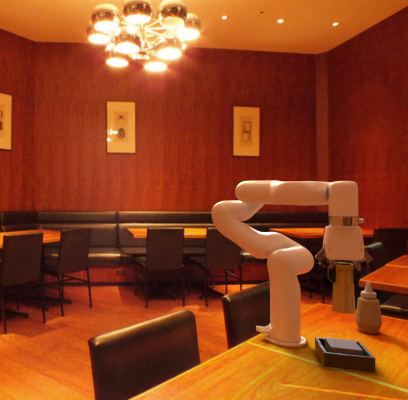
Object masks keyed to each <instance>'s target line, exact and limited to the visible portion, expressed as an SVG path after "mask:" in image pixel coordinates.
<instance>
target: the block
mask: <svg viewBox="0 0 408 400" xmlns="http://www.w3.org/2000/svg"><path fill="white" fill-rule="evenodd" d="M324 338H325V350H326V352H330V353H340V354H350V355H359V356H363V350H362V349H361V348H360V346H359V345H358V344H357V343H356V342H355V341H356V340H355V339H347V338H346V339H345V338H335V337H334V338H333V337H324Z"/></svg>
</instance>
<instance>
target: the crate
mask: <svg viewBox="0 0 408 400" xmlns="http://www.w3.org/2000/svg"><path fill="white" fill-rule="evenodd" d="M325 338H326V337H314V351H315V353H316V355H317V356H318V358H319V360H320V362H321V363H322V365H323V367H324V368H332V369H340V370H348V371H349V370H350V371H357V372H358V371H359V372H365V373H374V374H376V357H375V356H374V355H373V353H372V352H371V351H369V349H368V347H366V346H365V345H364V344H363V343H362V341H358V340H354V341H355V342H356V343H357V344H358V345H359V346H360V348H361V349H362V350H363V356H359V355H350V354H340V353H330V352H326V350H325Z"/></svg>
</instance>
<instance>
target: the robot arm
mask: <svg viewBox="0 0 408 400" xmlns="http://www.w3.org/2000/svg"><path fill="white" fill-rule="evenodd" d="M234 194H235V197H236V198H237V200H222V201H219V202H217V203H216V204H214V205H213V206H212V209H211V220H212V224H213V225H214V228H215V229H216V230H217V231H218V232H219V233H220V234H221V235H223V236H224V237H225V238H227V239H228V240H229V241H231V242H233V243H234V244H236V245H237V246H238V247H239V248H240V249H243V250H244V251H246V252H247V253H248V254H249V255H250V256H252V257H254V258H255V259H259V260H264V259H267V260H266V268H267V273H268V279H269V305H270V306H269V312H270V313H269V314H270V315H269V321H270V323H268V325H265V326H262V325H255V331H256V332H258V333H260V334H263V335H264V334H265V339H266V341H268V342H270V343H272V344H275V345H278V346H280V347H281V346H282V347H286V348H287V347H288V348H298V347H303V346H305V345H306V344H307V339H306V338H305V337H304V336H302V302H301V301H302V295H301V293H302V292H301V284H300V282H299V279H298V276H299V275H303V274H306V273H309V272H310V271H311V270H312V269H313V267H314V265H315V259H317V260H318V261H319V262H320V263H322V264H323V265H324V266H325V267H326V269H327V279H328V280H329V282H331V284H333V283H334V282H335V270H334V263H336V261H350V262H351V264H353V265H354V285H358V284H359V281H360V280H361V271H362V269H363V268H364V267H365V266H367V265H368V264H369V263H370V262H372V261H373V260H374V258H373V257H372V256H371V255H370V253H369V252H368V251H366V250H365V244H364V243H365V242H364V236H363V232H362V227H361V226H359V225H360V224H364V223H365V220H364V218H360V216H359V187H358V183H357V182H356V181H352V180H338V181H336V180H335V181H332V182H330V181H329V182H328V181H317V180H316V181H315V180H314V181H313V180H306V181H304V180H303V181H301V180H299V181H294V180H293V181H280V180H278V179H275V180H273V179H272V180H271V179H269V180H244V181H241V182H240V183H238V185H236V186H235V189H234ZM265 205H273V206H275V205H276V206H277V205H278V206H279V205H285V206H287V205H289V206H326V205H327V206H328V225H326V226H325V227H324V231H323V238H322V239H323V241H322V248H321V249H320V250H319V251H318V252H317V253H316V254H315V255H314V256H313V254H312V253H311V252H310V250H309V249H307V248H306V247H305V246H303V245H301V244H300V243H298V242H297V241H294V240H293V239H291V238H289V237H288V236H286V235H284V234H282V233H279V232H277V231H267V232H266V231H265V232H264V231H259V230H257V229H255V228H253V227H252V226H250V225H249V224H247V223H245V222H246V221H247V220H250V219H251V218H252V217H253V216H254V215H255V214H256V213H257V212H258V211H260V210H261V209H262V207H264V206H265ZM244 221H245V222H244ZM314 257H315V258H314ZM324 257H325V258H326V259H325V258H324Z"/></svg>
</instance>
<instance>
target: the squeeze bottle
mask: <svg viewBox="0 0 408 400" xmlns="http://www.w3.org/2000/svg"><path fill="white" fill-rule="evenodd" d="M381 310H382V309H381V302H380V300H379V299H378V298H377V293H376V292H374V291H373V287H372V284H371V282H370V281H366V282H365V287H364V289H363V290H361V291H360V296H359V297H358V298H357V303H356V309H355V311H356V312H355V319H354V320H355V323H356V326H357V328H358V330H359V331H360V332H361V333H363V334H364V333H365V334H370V335H378V334H379V333H380V330H381V328H382V325H383V317H382V311H381Z"/></svg>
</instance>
